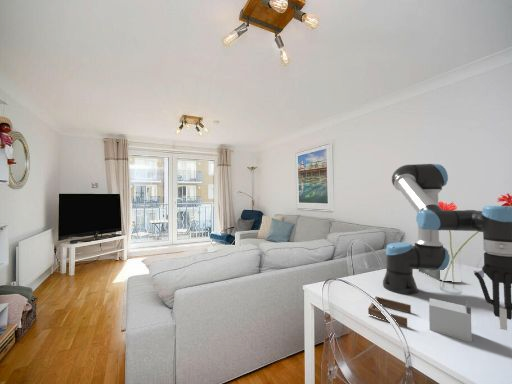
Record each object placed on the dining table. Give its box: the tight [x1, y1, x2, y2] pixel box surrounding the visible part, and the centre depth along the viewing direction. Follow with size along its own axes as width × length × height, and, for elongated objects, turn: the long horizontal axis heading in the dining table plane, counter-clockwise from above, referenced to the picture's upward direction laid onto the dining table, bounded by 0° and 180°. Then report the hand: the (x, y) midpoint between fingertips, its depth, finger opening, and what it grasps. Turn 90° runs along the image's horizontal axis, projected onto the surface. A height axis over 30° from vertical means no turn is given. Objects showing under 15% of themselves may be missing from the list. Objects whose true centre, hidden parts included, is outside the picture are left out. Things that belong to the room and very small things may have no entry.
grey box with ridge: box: [428, 297, 473, 343], centre depth 81 cm, size 7×11×11 cm, turn 51°
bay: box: [367, 296, 412, 328], centre depth 92 cm, size 14×13×3 cm
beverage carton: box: [418, 269, 440, 281], centre depth 136 cm, size 8×19×7 cm, turn 0°
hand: (502, 327), depth 72 cm, fingers closed
